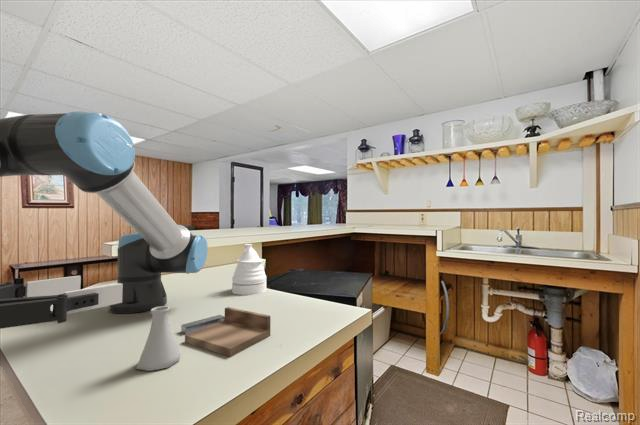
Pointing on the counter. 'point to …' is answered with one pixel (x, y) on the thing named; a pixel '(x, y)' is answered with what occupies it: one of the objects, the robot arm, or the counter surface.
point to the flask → (159, 343)
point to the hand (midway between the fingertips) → (99, 287)
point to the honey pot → (249, 274)
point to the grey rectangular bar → (201, 324)
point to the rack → (232, 332)
